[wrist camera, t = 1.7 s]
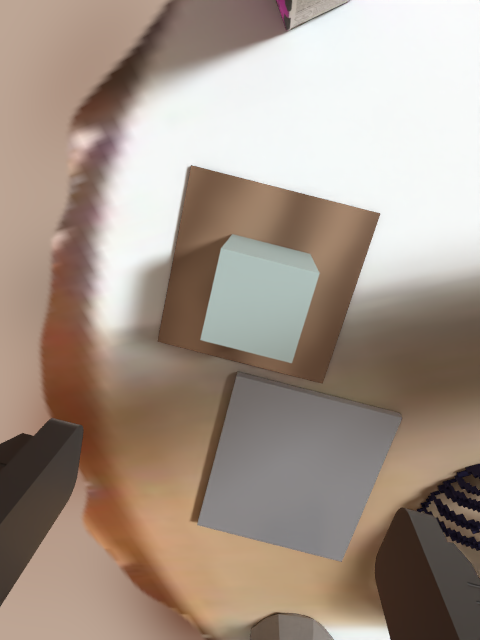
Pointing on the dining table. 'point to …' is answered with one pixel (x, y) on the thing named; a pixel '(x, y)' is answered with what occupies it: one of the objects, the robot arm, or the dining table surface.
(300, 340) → the brown coaster
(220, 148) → the dining table surface
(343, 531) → the slate plate
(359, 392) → the dining table surface
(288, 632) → the coffeepot
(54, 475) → the robot arm
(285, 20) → the candy bar box
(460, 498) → the decorative bowl
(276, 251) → the pale green block
